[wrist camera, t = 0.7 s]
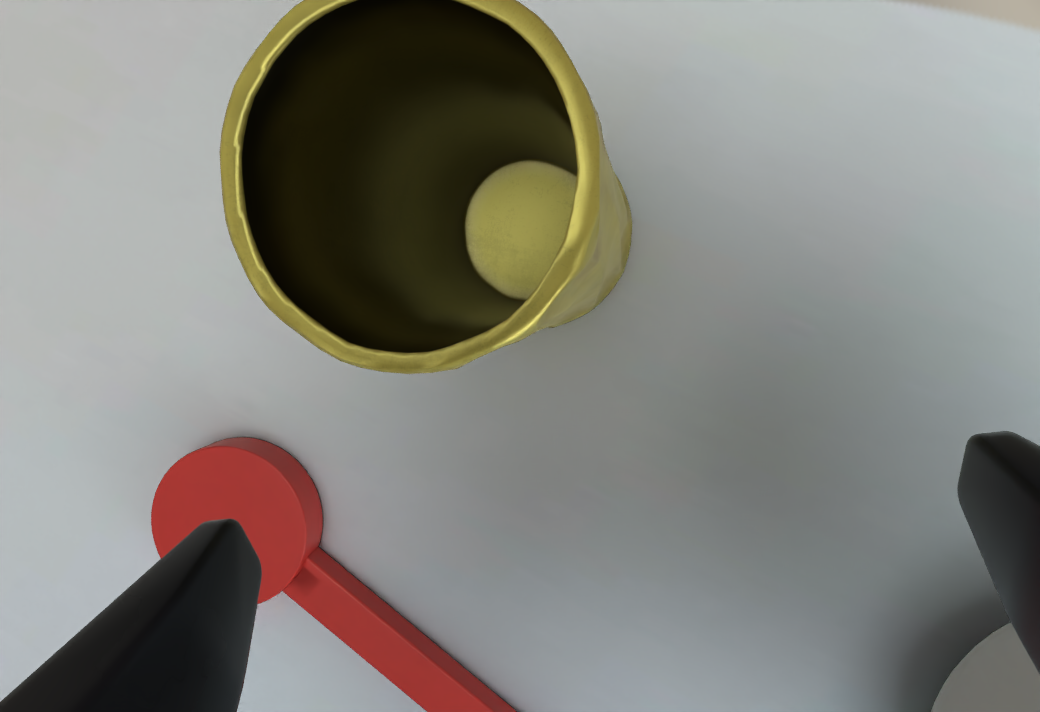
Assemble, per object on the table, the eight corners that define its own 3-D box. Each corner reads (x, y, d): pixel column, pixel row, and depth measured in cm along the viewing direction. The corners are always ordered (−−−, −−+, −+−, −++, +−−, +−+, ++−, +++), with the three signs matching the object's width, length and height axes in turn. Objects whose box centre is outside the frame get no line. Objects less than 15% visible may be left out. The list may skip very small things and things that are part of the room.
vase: (482, 354, 24) (284, 468, 10) (414, 178, 24) (113, 46, 10) (659, 287, 23) (710, 312, 9) (591, 102, 23) (535, -166, 9)
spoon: (536, 848, 26) (532, 881, 25) (147, 522, 27) (120, 535, 25) (638, 740, 25) (639, 767, 24) (230, 404, 26) (208, 412, 24)
